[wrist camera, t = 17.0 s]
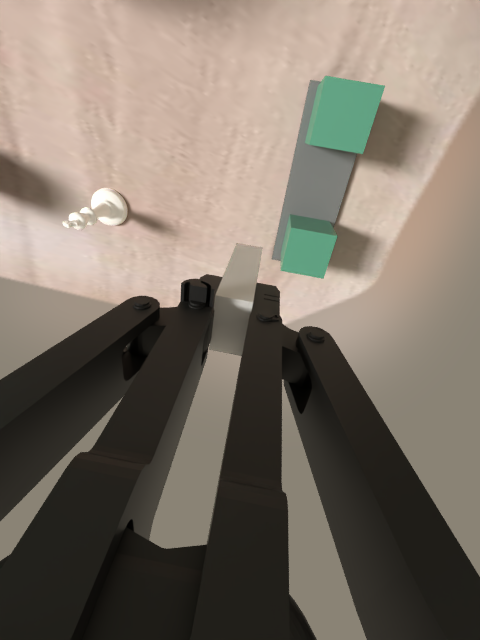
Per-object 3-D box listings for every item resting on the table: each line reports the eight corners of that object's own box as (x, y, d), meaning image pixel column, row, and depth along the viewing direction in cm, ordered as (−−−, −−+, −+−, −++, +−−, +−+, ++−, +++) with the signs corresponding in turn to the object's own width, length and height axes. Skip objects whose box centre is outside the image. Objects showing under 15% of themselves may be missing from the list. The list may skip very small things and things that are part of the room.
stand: (271, 257, 42) (270, 278, 36) (309, 80, 32) (316, 68, 25) (320, 266, 42) (326, 288, 36) (375, 91, 31) (397, 81, 25)
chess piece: (130, 225, 42) (93, 248, 34) (97, 224, 43) (52, 246, 34) (124, 188, 40) (81, 203, 31) (89, 187, 40) (38, 201, 32)
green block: (280, 252, 41) (280, 270, 36) (289, 214, 38) (291, 227, 33) (317, 259, 41) (323, 278, 35) (329, 221, 38) (337, 236, 33)
